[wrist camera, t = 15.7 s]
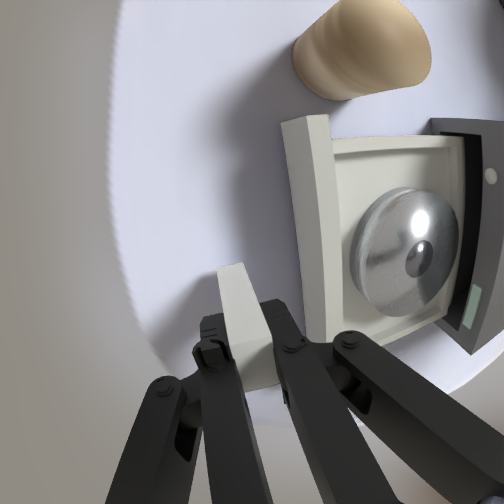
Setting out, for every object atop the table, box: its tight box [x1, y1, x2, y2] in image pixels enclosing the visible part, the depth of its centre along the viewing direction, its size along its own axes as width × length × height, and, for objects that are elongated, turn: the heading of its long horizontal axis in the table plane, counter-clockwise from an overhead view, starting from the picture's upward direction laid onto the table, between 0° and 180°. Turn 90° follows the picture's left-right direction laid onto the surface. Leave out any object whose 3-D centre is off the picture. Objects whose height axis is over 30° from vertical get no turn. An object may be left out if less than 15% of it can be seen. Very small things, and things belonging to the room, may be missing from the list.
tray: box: [280, 114, 466, 346], centre depth 16 cm, size 14×17×4 cm
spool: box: [292, 0, 431, 101], centre depth 10 cm, size 5×5×6 cm
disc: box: [349, 186, 459, 317], centre depth 15 cm, size 8×8×2 cm
